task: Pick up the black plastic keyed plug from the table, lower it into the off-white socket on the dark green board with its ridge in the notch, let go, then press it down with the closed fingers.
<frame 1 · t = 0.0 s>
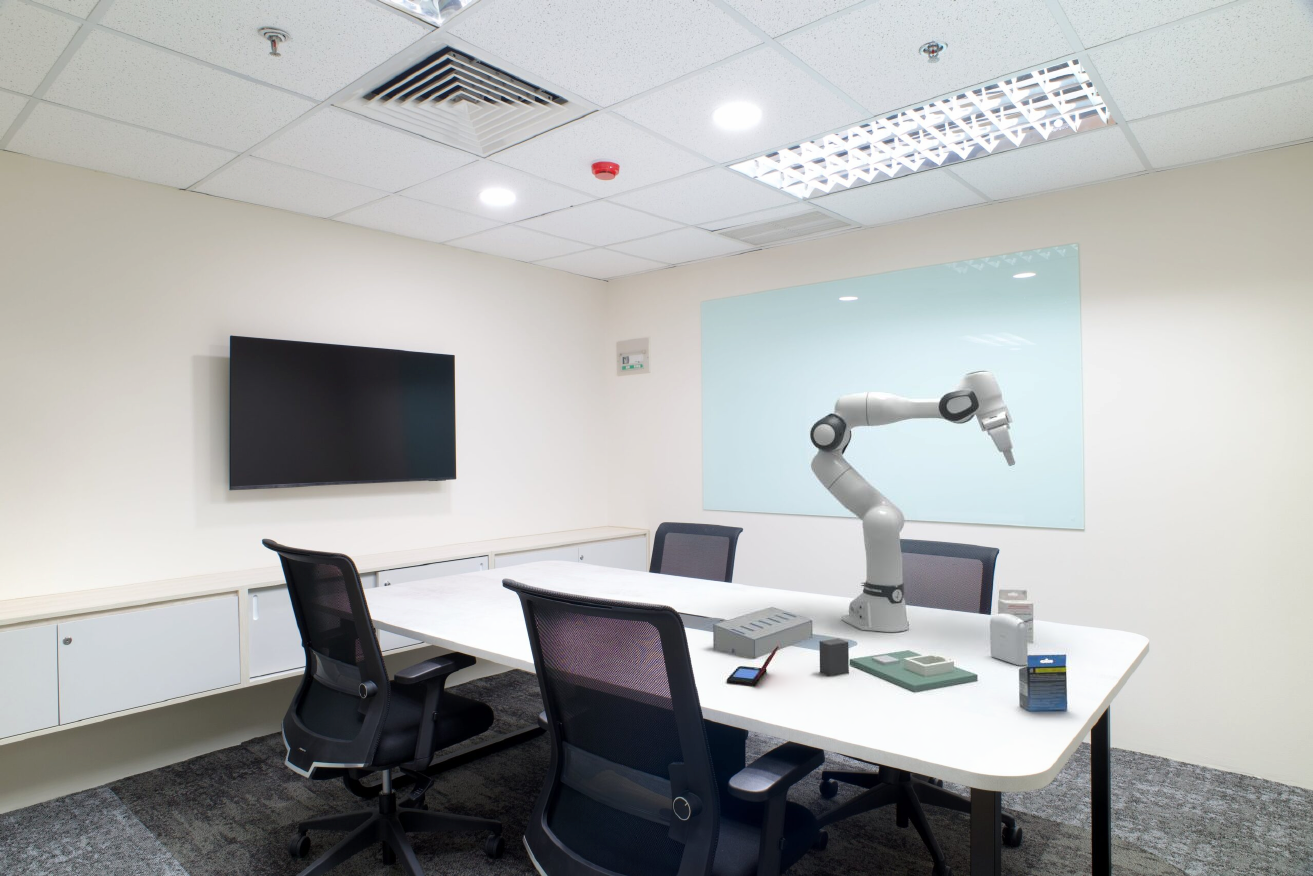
hand: (1012, 465, 220), 52 cm above the table, fingers open, 8 cm apart
photo printer: (1008, 661, 199), on the table
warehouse: (764, 645, 218), on the table
ink cartridge box: (1015, 641, 219), on the table
plug: (834, 673, 189), on the table
handheld game console: (753, 680, 186), on the table
label tape cartridge: (1043, 709, 163), on the table
board: (911, 672, 189), on the table
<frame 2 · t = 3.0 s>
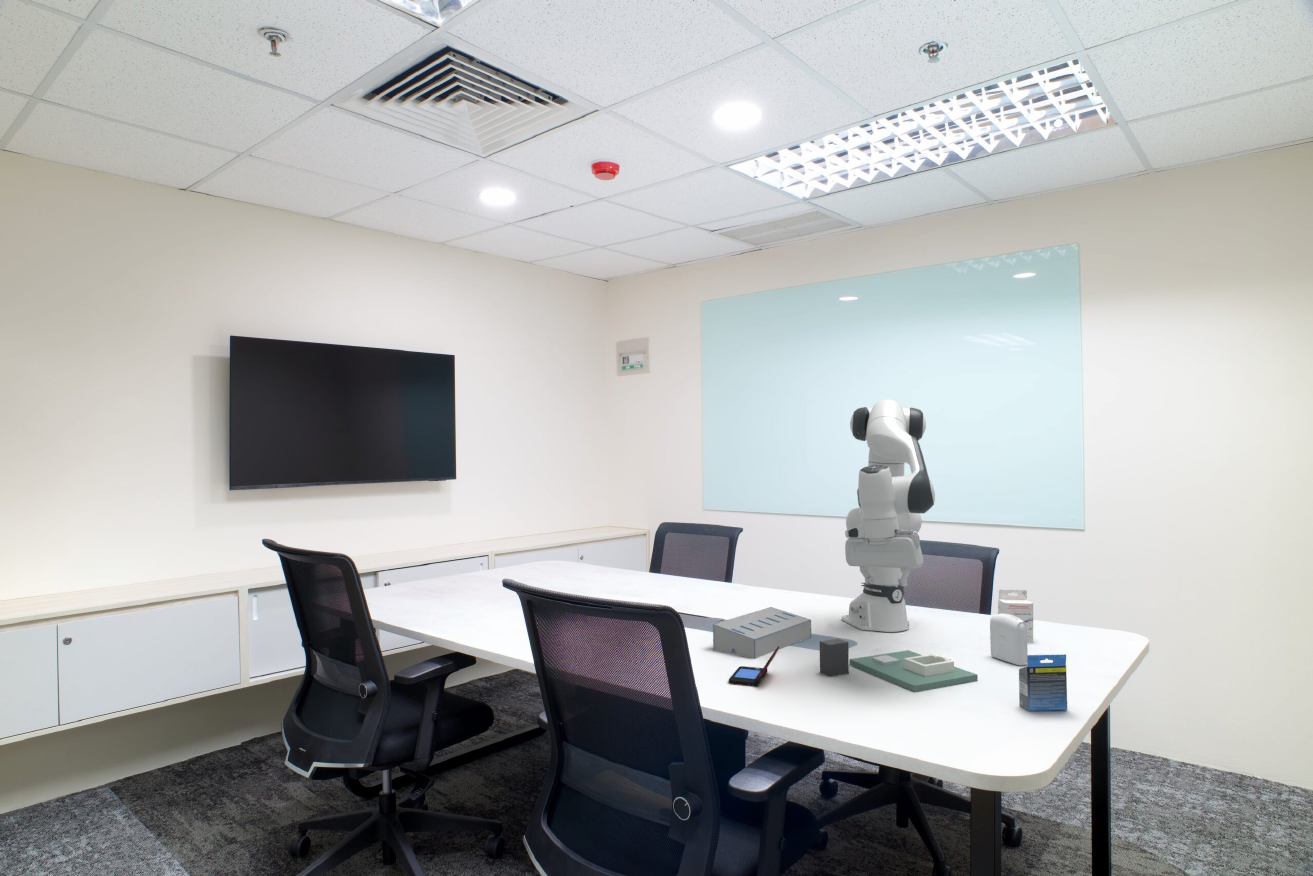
hand: (886, 585, 185), 23 cm above the table, fingers open, 8 cm apart
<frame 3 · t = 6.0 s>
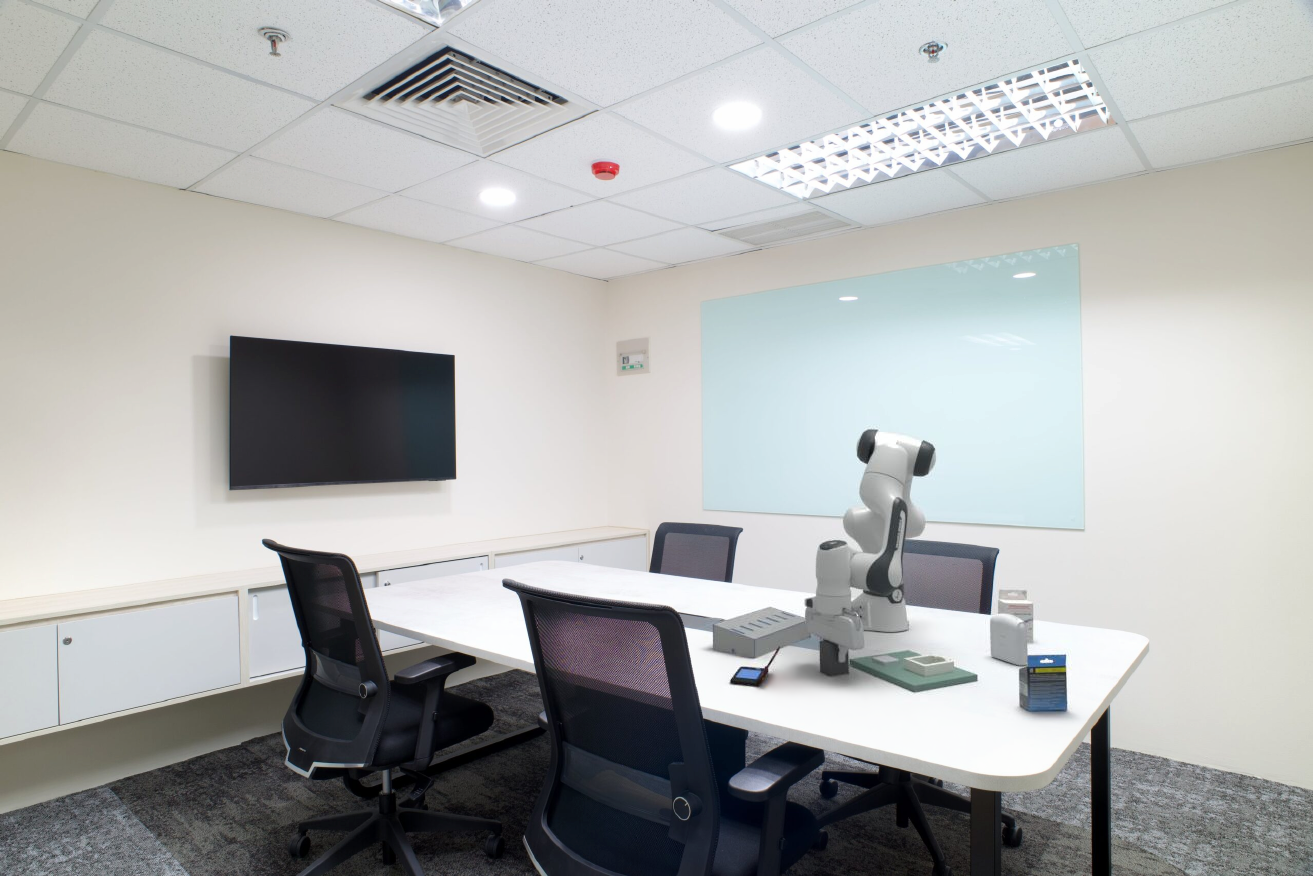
hand: (834, 658, 189), 4 cm above the table, fingers closed on plug, 4 cm apart
plug: (834, 673, 189), on the table, touching gripper
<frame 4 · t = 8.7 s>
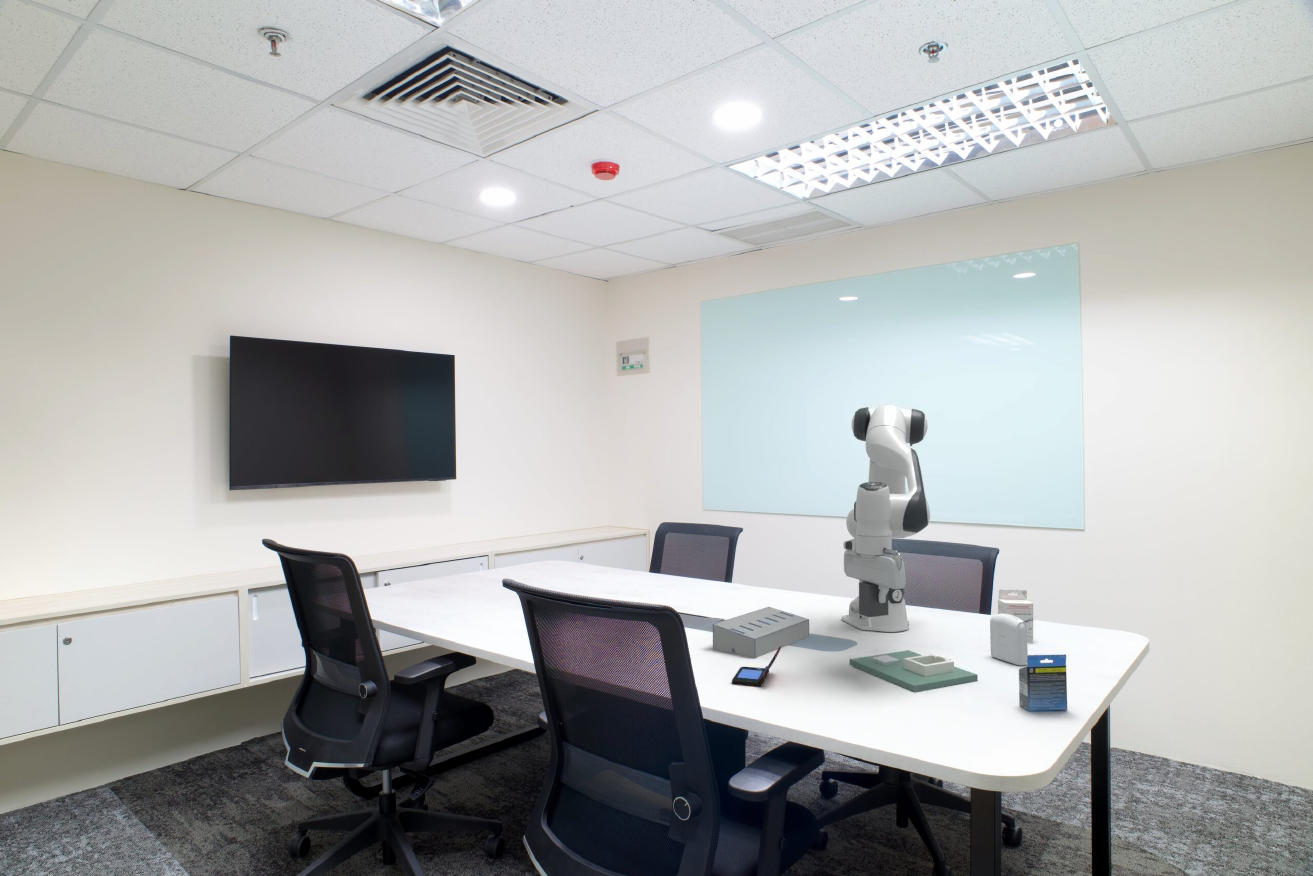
hand: (873, 600, 189), 19 cm above the table, fingers closed on plug, 4 cm apart
plug: (873, 614, 189), point 15 cm above the table, touching gripper
when the fingers open (6 cm above the table, at t = 11.8 s): plug stays where it is, resting on board.
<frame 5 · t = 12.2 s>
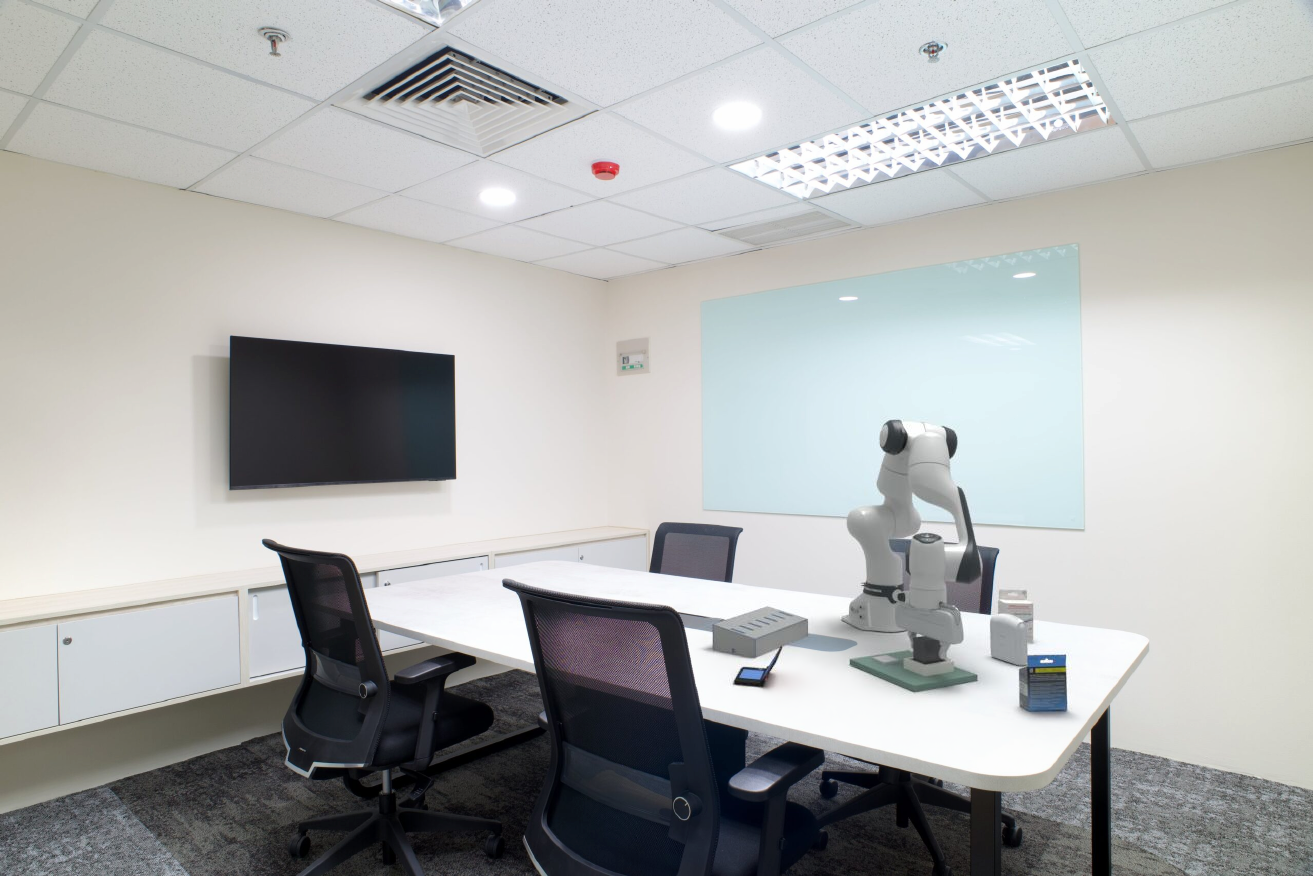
hand: (928, 653, 187), 6 cm above the table, fingers open, 8 cm apart
plug: (928, 669, 186), point 1 cm above the table, touching board
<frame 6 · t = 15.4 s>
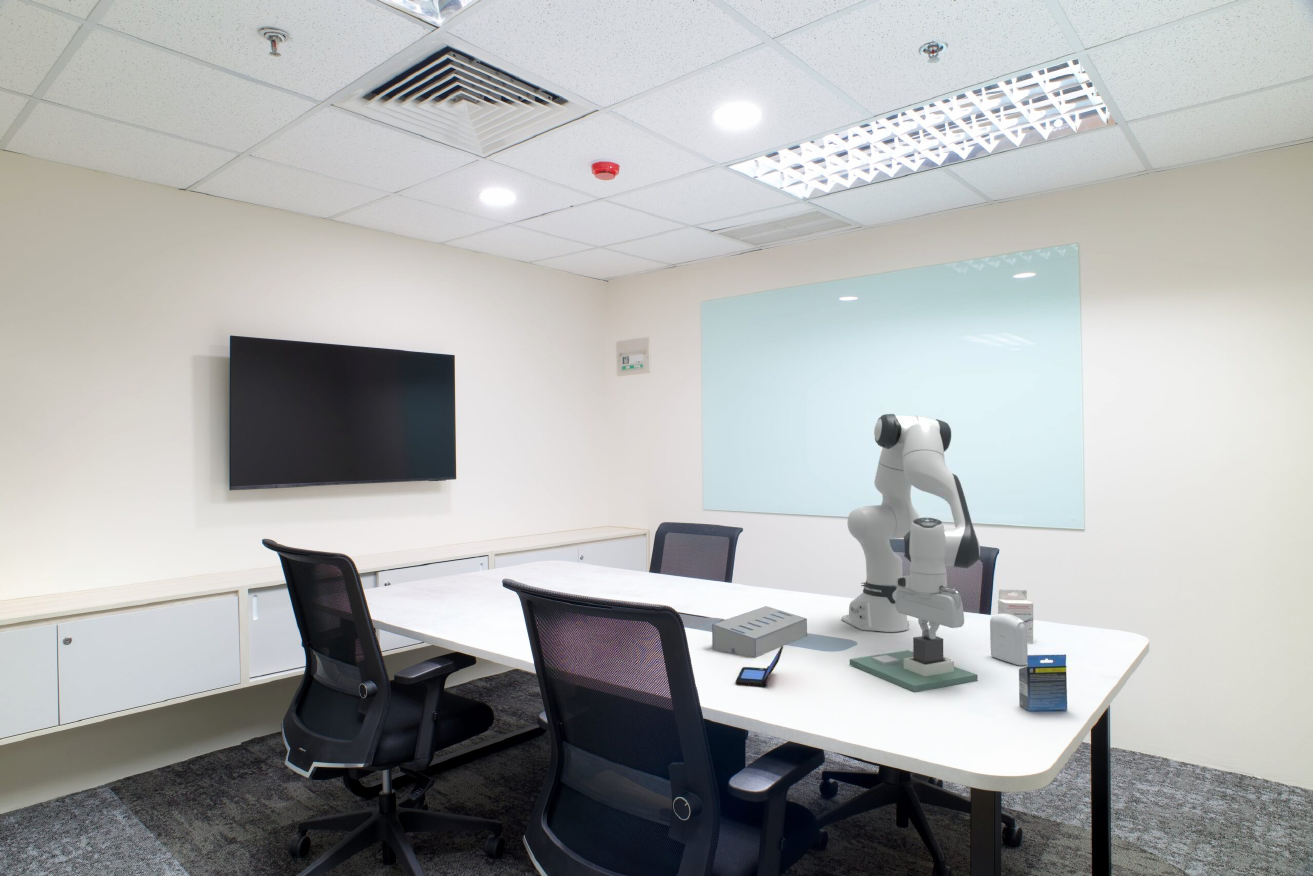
hand: (929, 638, 186), 10 cm above the table, fingers closed, pressing on plug
plug: (928, 669, 186), point 2 cm above the table, touching board, gripper
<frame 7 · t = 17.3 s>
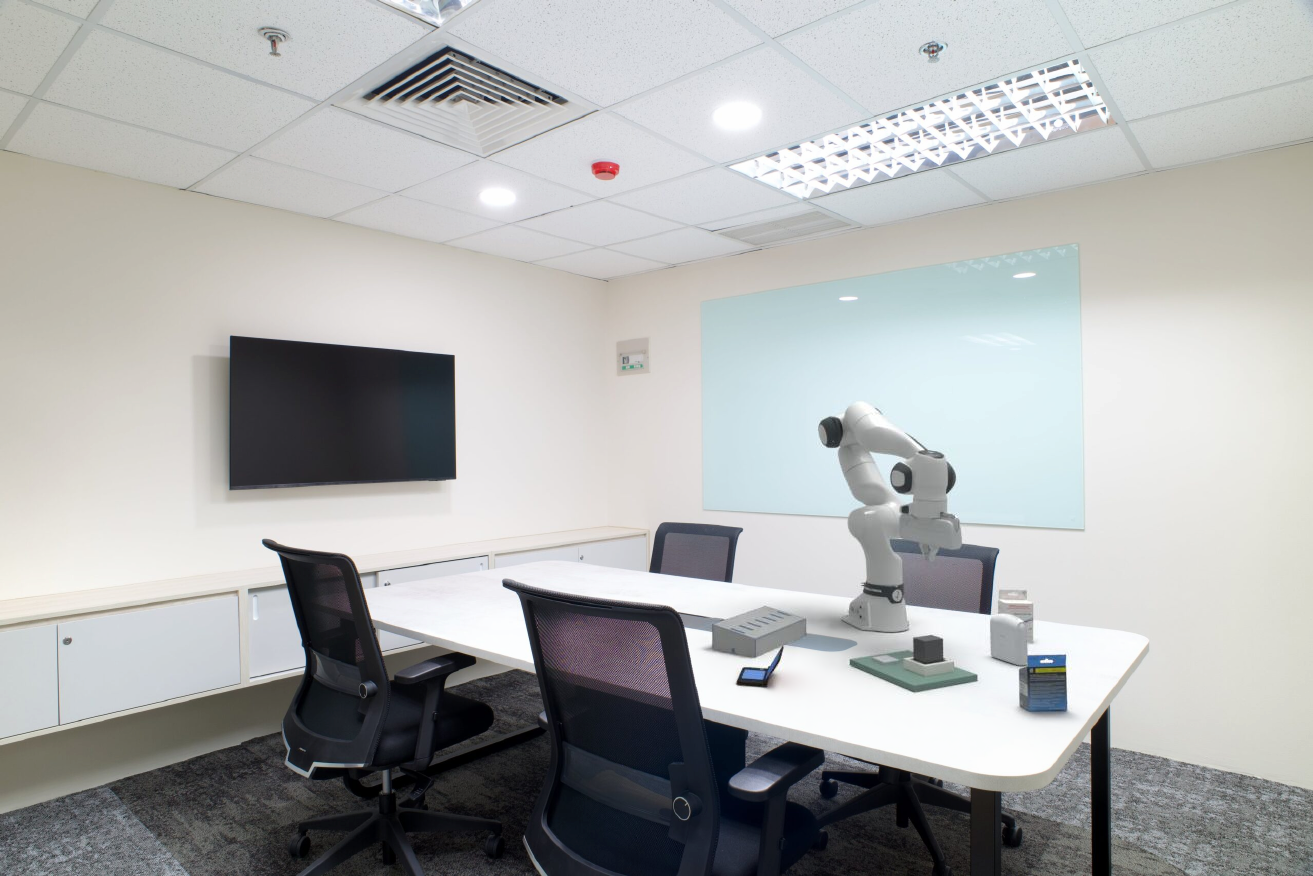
hand: (928, 560, 202), 27 cm above the table, fingers closed
plug: (928, 669, 186), point 1 cm above the table, touching board
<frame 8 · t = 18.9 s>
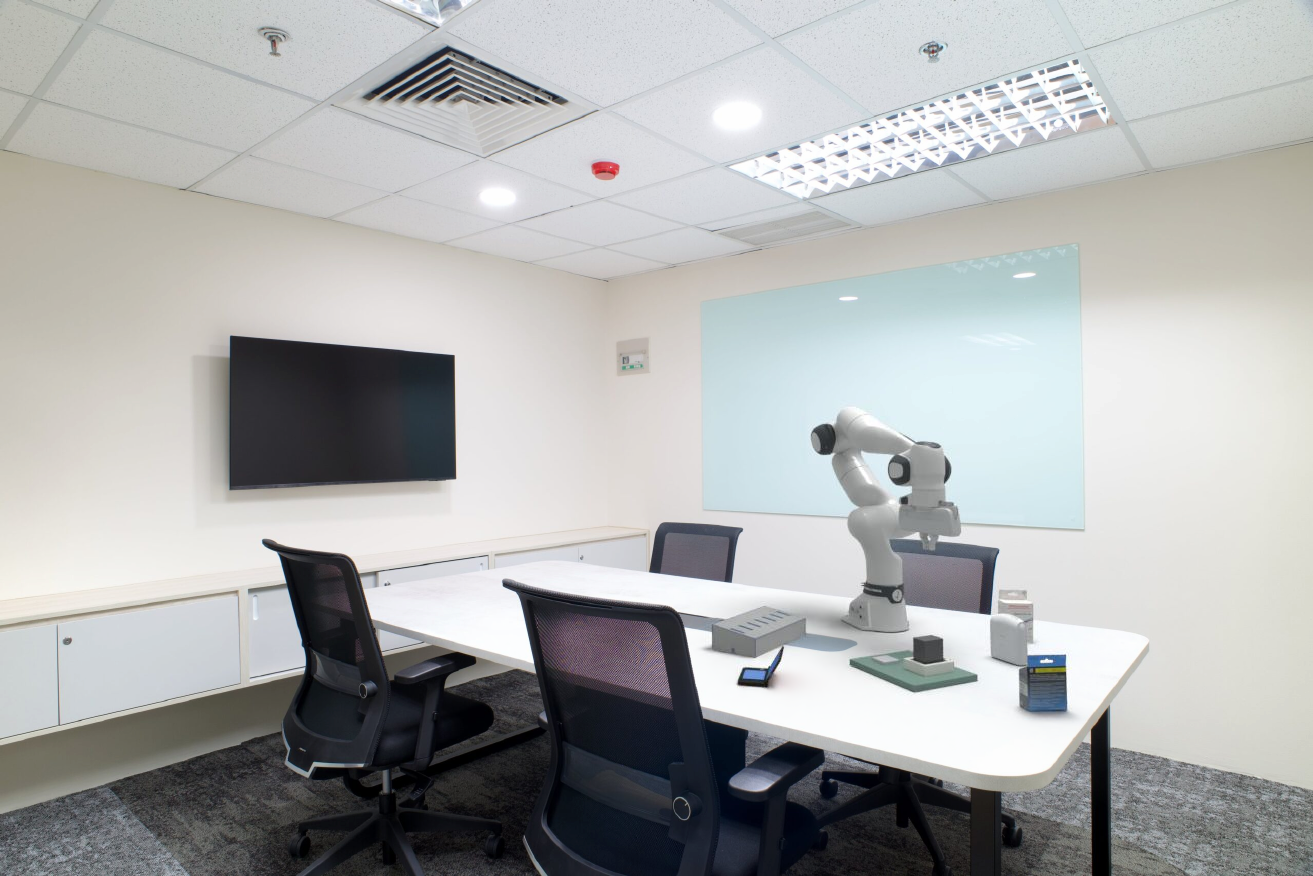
hand: (929, 549, 205), 29 cm above the table, fingers closed
at the end: plug 0.0 cm from the target spot on the board, point 1.5 cm above the board's base; plug tilted 0°; the gripper is holding nothing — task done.
